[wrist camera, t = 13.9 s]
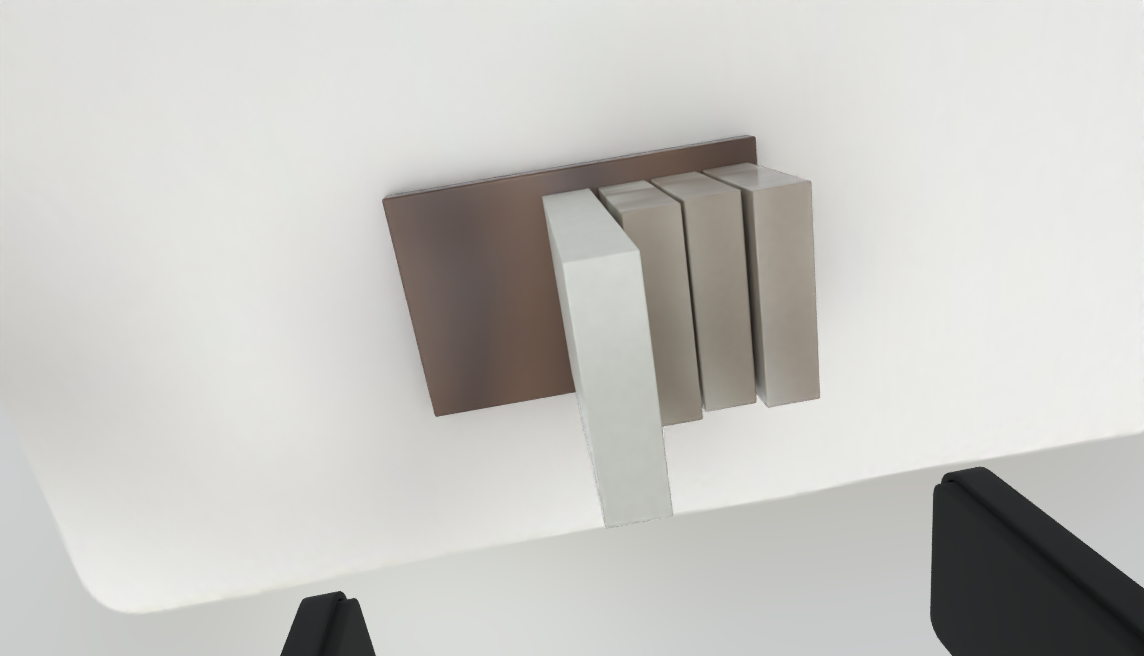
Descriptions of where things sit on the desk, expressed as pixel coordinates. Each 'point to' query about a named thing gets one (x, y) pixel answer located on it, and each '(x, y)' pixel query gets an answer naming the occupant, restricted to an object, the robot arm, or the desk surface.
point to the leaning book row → (670, 272)
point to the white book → (610, 356)
